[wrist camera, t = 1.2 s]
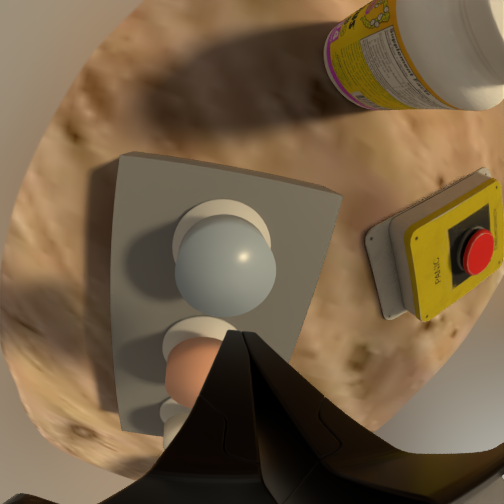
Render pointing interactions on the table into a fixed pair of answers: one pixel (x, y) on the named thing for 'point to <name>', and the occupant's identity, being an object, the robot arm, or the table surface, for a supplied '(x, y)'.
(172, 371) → the terracotta button
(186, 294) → the slate button
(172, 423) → the cream button
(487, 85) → the supplement bottle
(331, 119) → the table surface
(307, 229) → the console
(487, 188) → the emergency button
